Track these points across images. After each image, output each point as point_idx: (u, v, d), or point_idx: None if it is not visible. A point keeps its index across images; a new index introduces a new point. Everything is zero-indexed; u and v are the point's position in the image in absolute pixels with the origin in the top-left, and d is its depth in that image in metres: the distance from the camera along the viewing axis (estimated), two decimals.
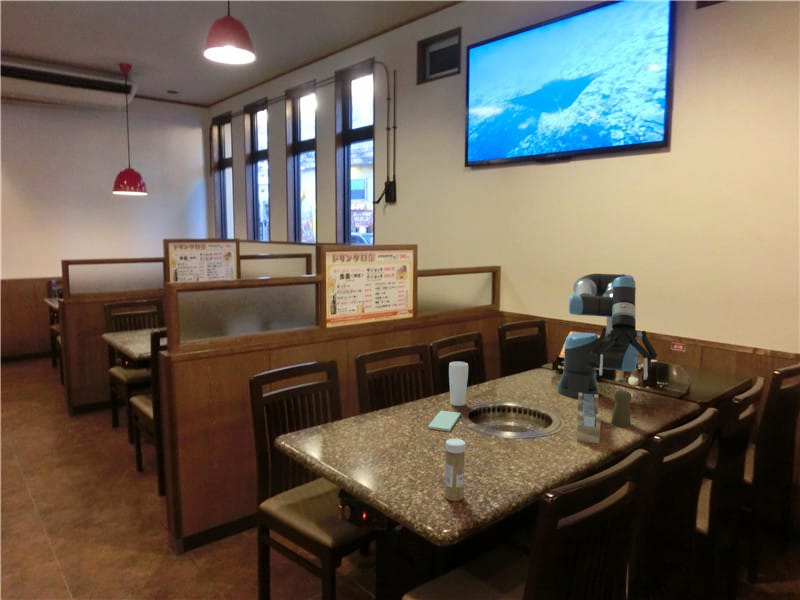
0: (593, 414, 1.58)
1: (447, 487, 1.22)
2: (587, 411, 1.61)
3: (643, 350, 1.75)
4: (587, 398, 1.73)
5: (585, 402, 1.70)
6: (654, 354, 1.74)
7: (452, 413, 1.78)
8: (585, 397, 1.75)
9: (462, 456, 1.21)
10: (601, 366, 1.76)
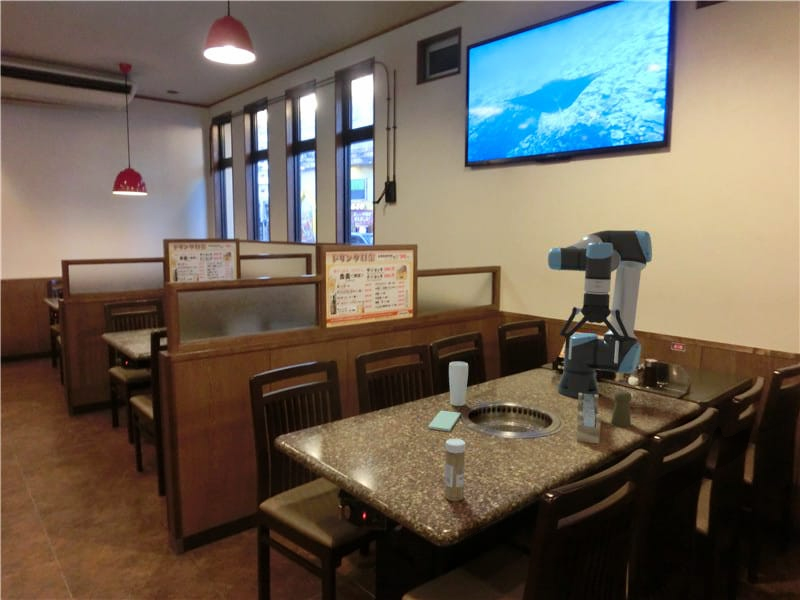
0: (593, 414, 1.58)
1: (447, 487, 1.22)
2: (587, 411, 1.61)
3: (615, 333, 1.62)
4: (587, 398, 1.73)
5: (585, 402, 1.70)
6: (627, 338, 1.61)
7: (452, 413, 1.78)
8: (585, 397, 1.75)
9: (462, 456, 1.21)
10: (570, 352, 1.67)
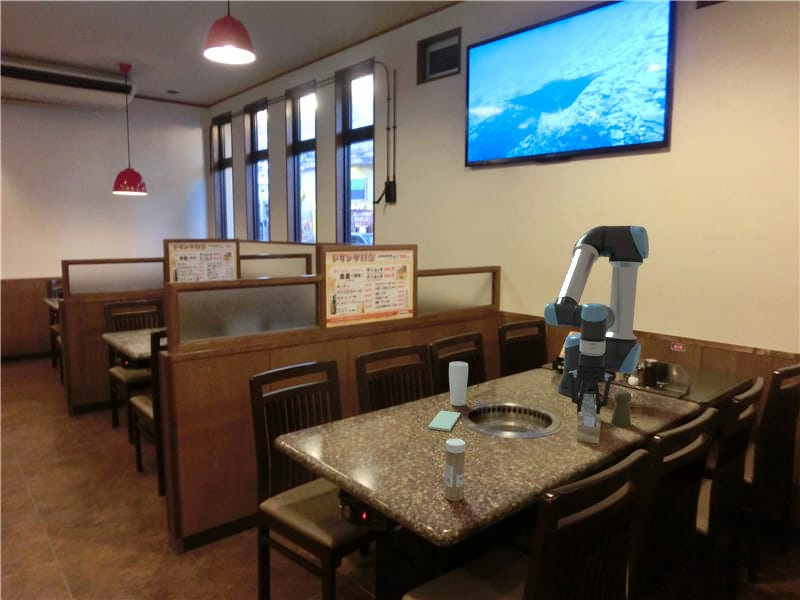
0: (593, 414, 1.58)
1: (447, 486, 1.22)
2: (587, 411, 1.61)
3: (597, 397, 1.66)
4: (587, 398, 1.73)
5: (585, 402, 1.70)
6: (604, 403, 1.65)
7: (452, 413, 1.78)
8: (585, 397, 1.75)
9: (462, 456, 1.21)
10: None
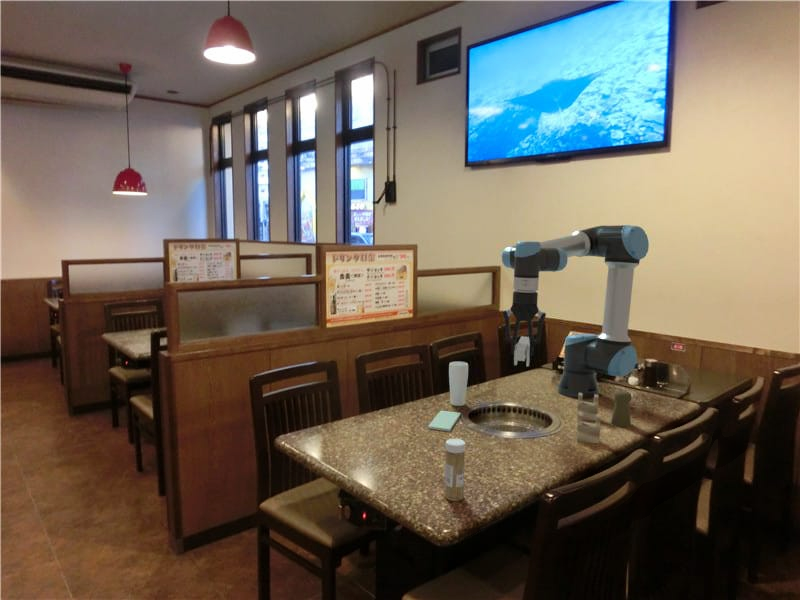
0: (524, 349, 1.58)
1: (447, 486, 1.22)
2: (519, 347, 1.61)
3: (530, 335, 1.65)
4: (522, 339, 1.73)
5: (520, 342, 1.69)
6: (537, 341, 1.65)
7: (452, 413, 1.78)
8: (521, 338, 1.74)
9: (462, 456, 1.21)
10: None
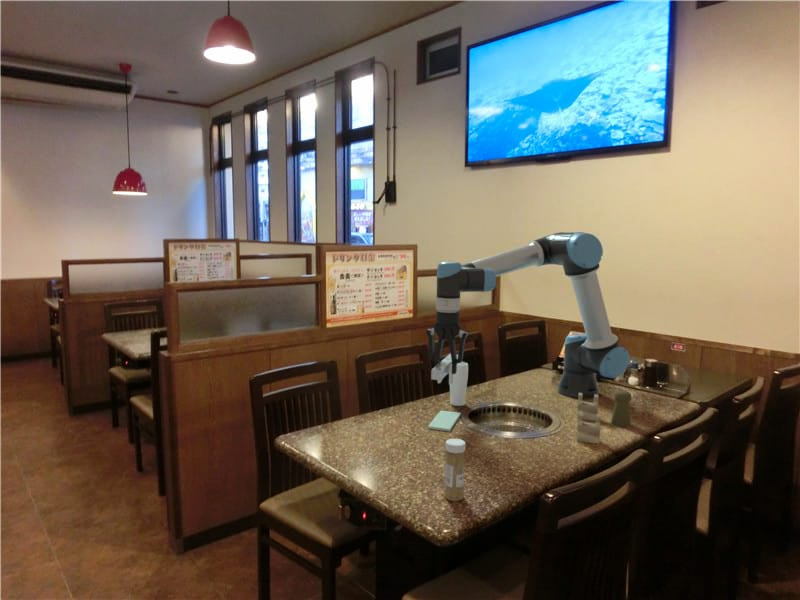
0: (441, 368, 1.61)
1: (447, 487, 1.22)
2: (438, 366, 1.64)
3: (452, 354, 1.69)
4: (448, 357, 1.76)
5: (444, 360, 1.73)
6: (459, 360, 1.68)
7: (452, 413, 1.78)
8: (448, 356, 1.78)
9: (462, 456, 1.21)
10: None
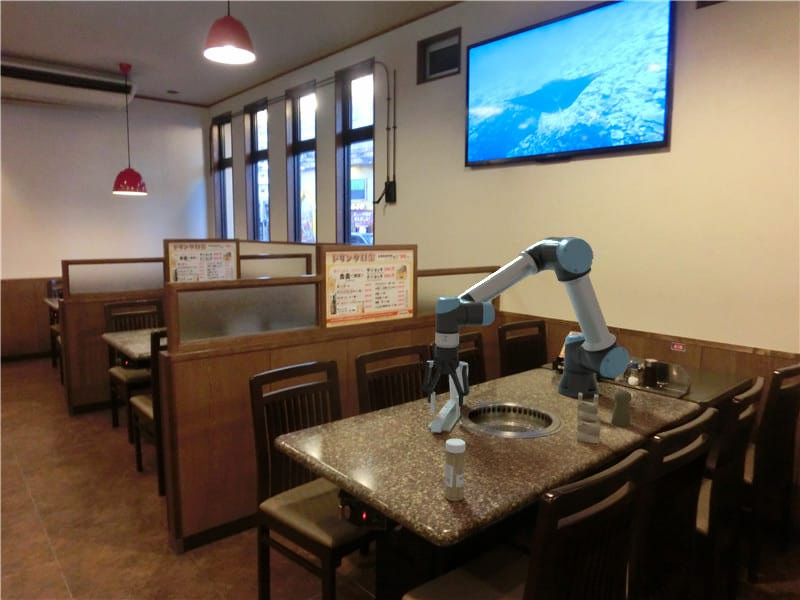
0: (441, 420, 1.63)
1: (447, 487, 1.22)
2: (438, 417, 1.66)
3: (457, 387, 1.69)
4: (448, 405, 1.78)
5: (443, 408, 1.75)
6: (465, 393, 1.69)
7: None
8: (447, 403, 1.80)
9: (462, 456, 1.21)
10: (431, 407, 1.73)
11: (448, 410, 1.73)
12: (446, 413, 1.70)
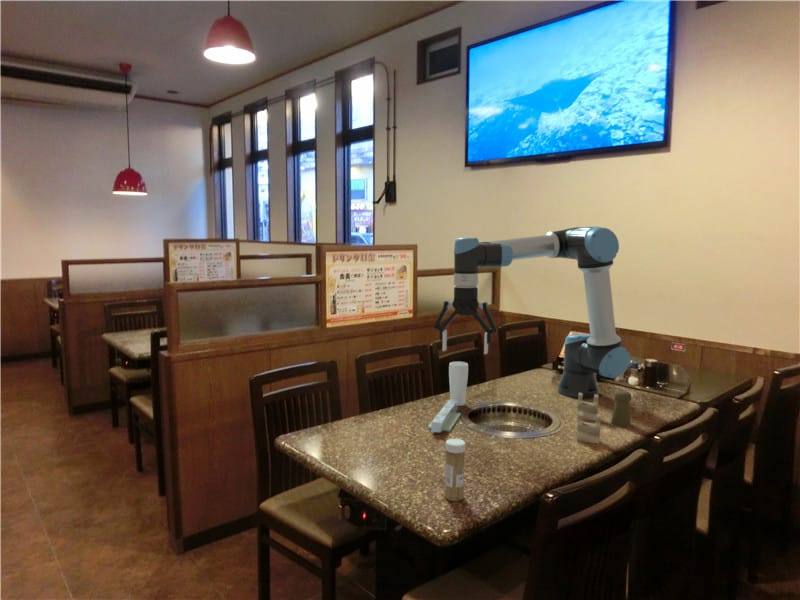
0: (441, 420, 1.63)
1: (447, 487, 1.22)
2: (438, 417, 1.66)
3: (483, 325, 1.68)
4: (448, 405, 1.78)
5: (443, 408, 1.75)
6: (493, 329, 1.67)
7: None
8: (447, 403, 1.80)
9: (462, 456, 1.21)
10: (443, 344, 1.73)
11: (448, 410, 1.73)
12: (446, 413, 1.70)
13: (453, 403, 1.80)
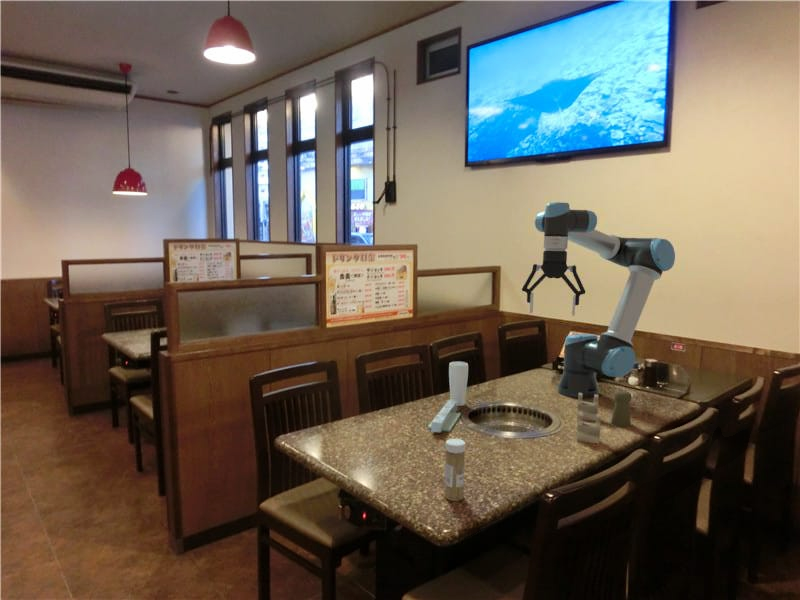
0: (441, 420, 1.63)
1: (447, 486, 1.22)
2: (438, 417, 1.66)
3: (572, 287, 1.74)
4: (448, 405, 1.78)
5: (443, 408, 1.75)
6: (582, 291, 1.73)
7: None
8: (447, 403, 1.80)
9: (462, 456, 1.21)
10: (531, 306, 1.79)
11: (448, 410, 1.73)
12: (446, 413, 1.70)
13: (453, 403, 1.80)
